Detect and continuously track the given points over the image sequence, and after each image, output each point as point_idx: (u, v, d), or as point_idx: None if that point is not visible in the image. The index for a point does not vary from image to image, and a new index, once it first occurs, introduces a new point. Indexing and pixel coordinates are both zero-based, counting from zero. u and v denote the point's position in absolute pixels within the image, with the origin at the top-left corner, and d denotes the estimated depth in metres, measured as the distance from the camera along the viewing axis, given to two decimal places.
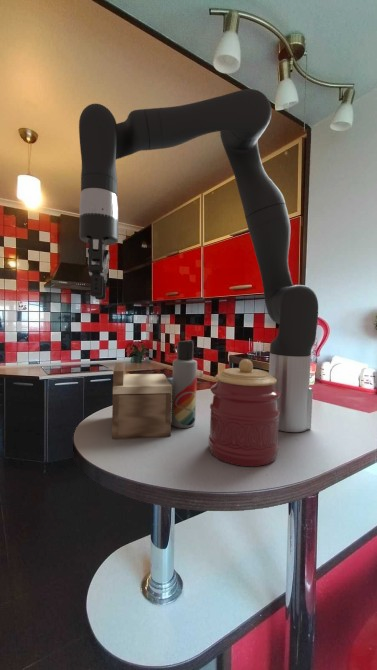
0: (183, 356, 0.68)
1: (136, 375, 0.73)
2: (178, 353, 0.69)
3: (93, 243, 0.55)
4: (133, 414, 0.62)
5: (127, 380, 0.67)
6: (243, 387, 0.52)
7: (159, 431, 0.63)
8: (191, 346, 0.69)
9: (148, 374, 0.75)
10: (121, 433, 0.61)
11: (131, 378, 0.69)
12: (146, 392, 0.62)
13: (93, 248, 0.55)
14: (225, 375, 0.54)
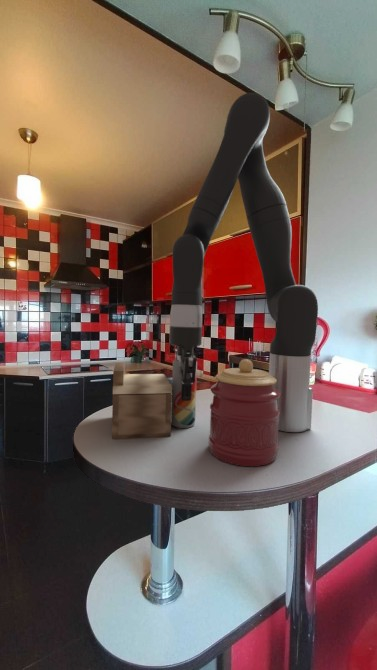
0: None
1: (136, 375, 0.73)
2: (178, 353, 0.69)
3: (189, 362, 0.64)
4: (133, 414, 0.62)
5: (127, 380, 0.67)
6: (243, 387, 0.52)
7: (159, 431, 0.63)
8: None
9: (148, 374, 0.75)
10: (121, 433, 0.61)
11: (131, 378, 0.69)
12: (146, 392, 0.62)
13: (188, 366, 0.64)
14: (225, 375, 0.54)
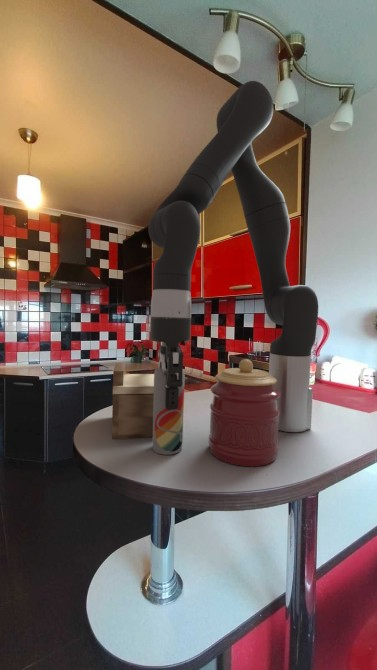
0: None
1: (136, 375, 0.73)
2: (160, 361, 0.55)
3: (173, 358, 0.50)
4: (133, 414, 0.62)
5: (127, 380, 0.67)
6: (243, 387, 0.52)
7: None
8: None
9: (148, 374, 0.75)
10: (121, 433, 0.61)
11: (131, 378, 0.69)
12: (146, 392, 0.62)
13: (173, 363, 0.50)
14: (225, 375, 0.54)
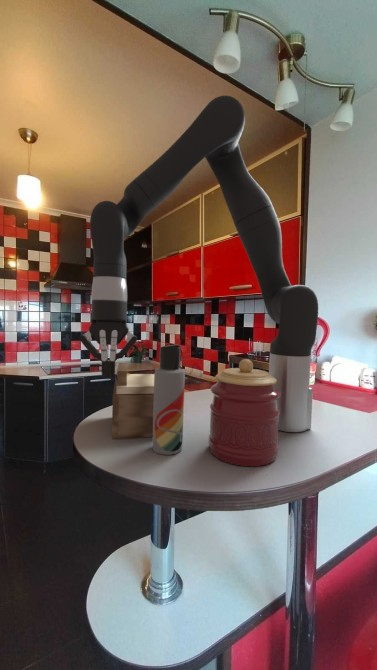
0: (167, 365, 0.55)
1: (139, 375, 0.74)
2: (161, 361, 0.55)
3: None
4: (133, 414, 0.62)
5: (130, 380, 0.67)
6: (243, 387, 0.52)
7: None
8: (177, 352, 0.55)
9: (151, 374, 0.75)
10: (121, 433, 0.61)
11: (134, 378, 0.70)
12: (150, 392, 0.62)
13: None
14: (225, 375, 0.54)
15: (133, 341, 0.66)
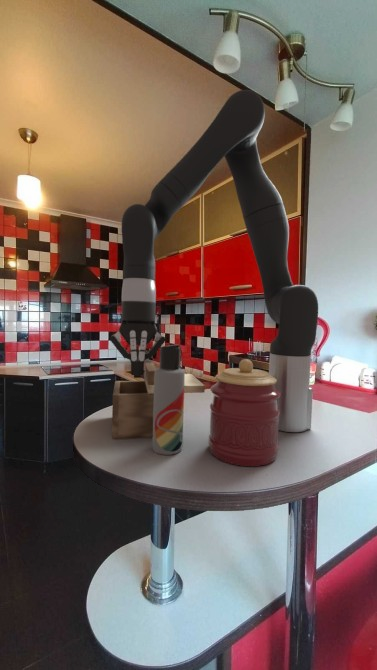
0: (167, 365, 0.55)
1: None
2: (161, 361, 0.55)
3: None
4: (133, 414, 0.62)
5: None
6: (243, 387, 0.52)
7: None
8: (177, 352, 0.55)
9: None
10: (121, 433, 0.61)
11: None
12: None
13: None
14: (225, 375, 0.54)
15: (162, 341, 0.68)
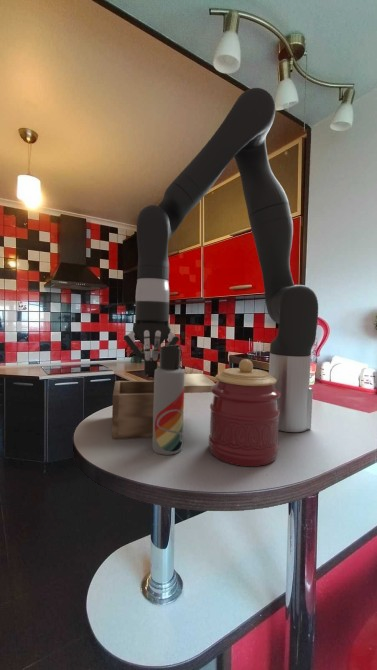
0: (166, 365, 0.55)
1: None
2: (161, 361, 0.55)
3: None
4: (133, 414, 0.62)
5: None
6: (243, 387, 0.52)
7: None
8: (177, 352, 0.55)
9: (187, 374, 0.77)
10: (121, 433, 0.61)
11: None
12: (193, 391, 0.64)
13: None
14: (225, 375, 0.54)
15: (175, 341, 0.68)
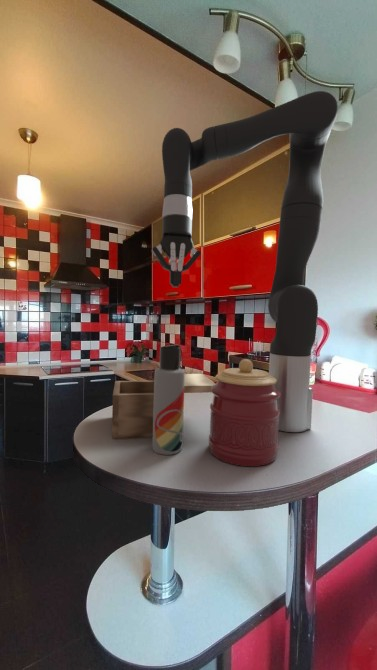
0: (167, 365, 0.55)
1: None
2: (161, 361, 0.55)
3: (153, 253, 0.76)
4: (133, 414, 0.62)
5: None
6: (243, 387, 0.52)
7: None
8: (177, 352, 0.55)
9: (187, 374, 0.77)
10: (121, 433, 0.61)
11: None
12: (194, 391, 0.64)
13: (155, 256, 0.76)
14: (225, 375, 0.54)
15: (197, 255, 0.76)
